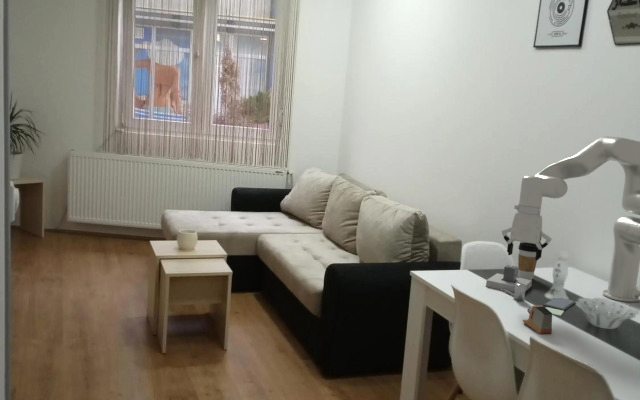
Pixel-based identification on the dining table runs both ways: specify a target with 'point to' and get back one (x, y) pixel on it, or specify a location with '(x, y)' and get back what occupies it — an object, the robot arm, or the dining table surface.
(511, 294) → the cable
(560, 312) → the pad
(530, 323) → the electronic device
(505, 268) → the charger
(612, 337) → the dining table surface
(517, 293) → the plug
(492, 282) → the plate
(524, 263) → the coffee cup
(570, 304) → the phone
